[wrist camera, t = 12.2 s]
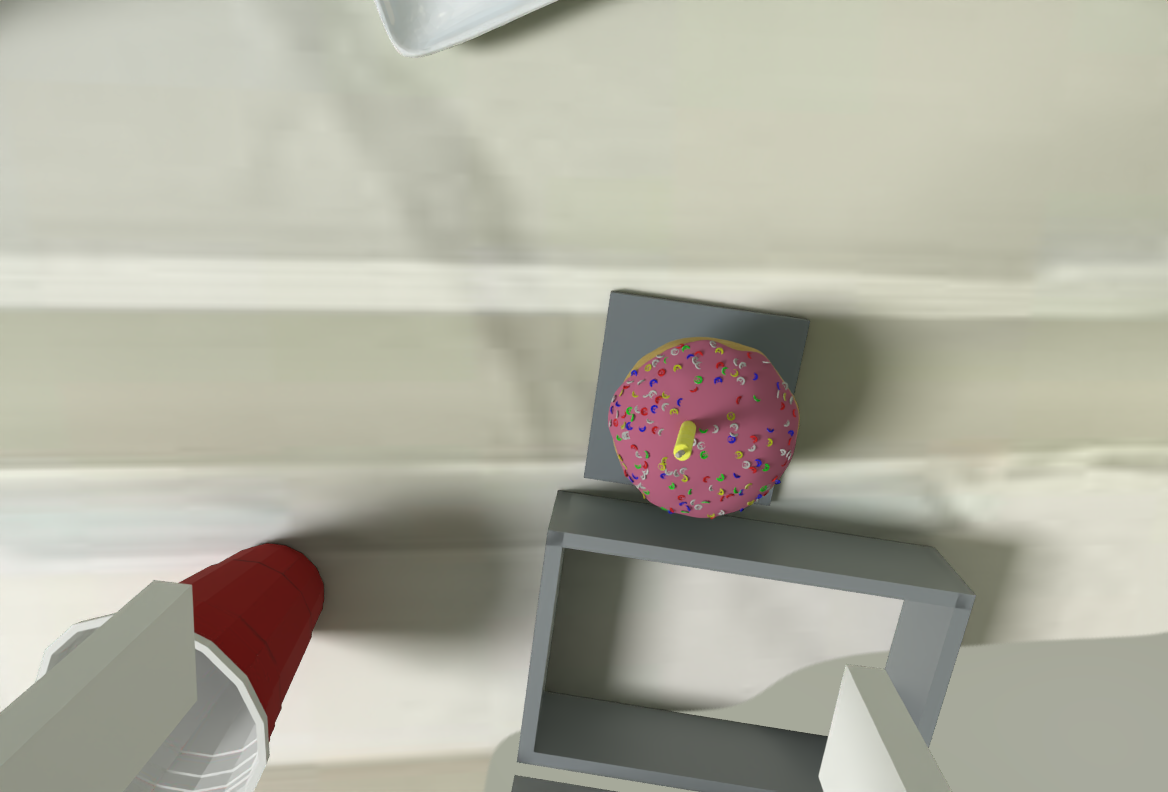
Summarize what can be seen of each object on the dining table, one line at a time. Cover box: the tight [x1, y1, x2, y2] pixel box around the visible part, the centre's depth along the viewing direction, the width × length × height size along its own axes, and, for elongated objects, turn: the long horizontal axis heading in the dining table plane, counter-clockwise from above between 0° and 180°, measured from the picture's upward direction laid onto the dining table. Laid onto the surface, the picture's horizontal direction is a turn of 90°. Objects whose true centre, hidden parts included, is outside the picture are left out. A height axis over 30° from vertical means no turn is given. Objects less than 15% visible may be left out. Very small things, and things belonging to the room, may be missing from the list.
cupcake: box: [608, 337, 800, 519], centre depth 32 cm, size 9×8×12 cm
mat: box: [584, 291, 810, 506], centre depth 38 cm, size 10×10×1 cm
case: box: [517, 491, 976, 792], centre depth 35 cm, size 18×21×17 cm
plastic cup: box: [35, 543, 324, 792], centre depth 37 cm, size 11×11×12 cm
